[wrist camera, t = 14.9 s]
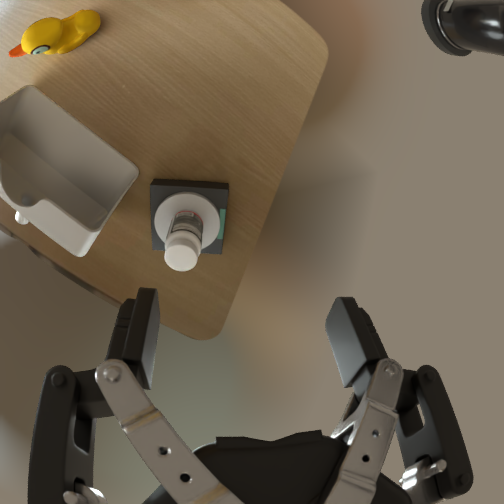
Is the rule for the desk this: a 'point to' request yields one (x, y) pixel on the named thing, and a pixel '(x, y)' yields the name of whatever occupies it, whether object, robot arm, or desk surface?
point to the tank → (58, 170)
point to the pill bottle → (184, 240)
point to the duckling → (58, 34)
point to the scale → (189, 198)
